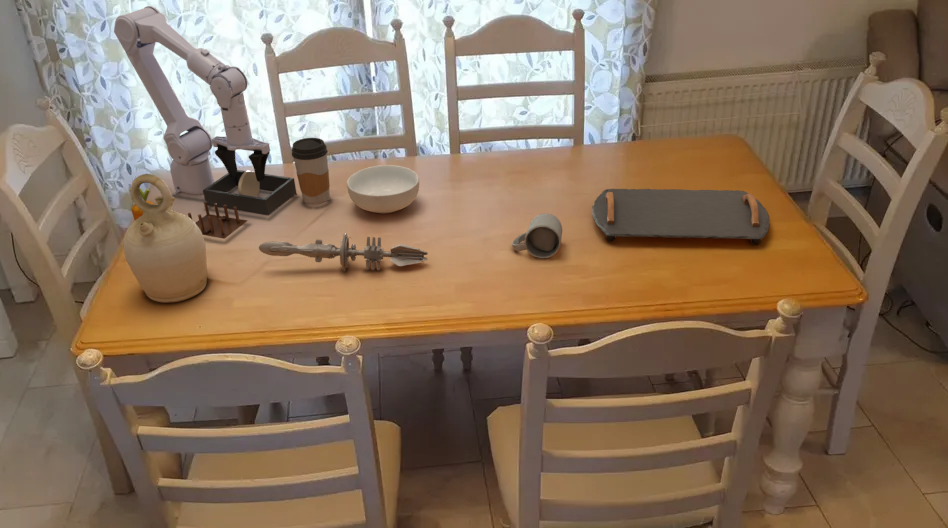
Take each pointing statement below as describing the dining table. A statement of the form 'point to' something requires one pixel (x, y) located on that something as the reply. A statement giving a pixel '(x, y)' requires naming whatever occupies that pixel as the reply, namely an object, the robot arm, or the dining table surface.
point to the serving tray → (680, 214)
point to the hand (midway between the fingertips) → (247, 177)
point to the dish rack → (218, 222)
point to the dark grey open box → (277, 184)
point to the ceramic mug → (541, 236)
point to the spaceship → (348, 252)
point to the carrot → (137, 211)
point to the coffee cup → (312, 169)
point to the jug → (165, 247)
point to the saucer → (248, 184)
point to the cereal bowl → (383, 188)
